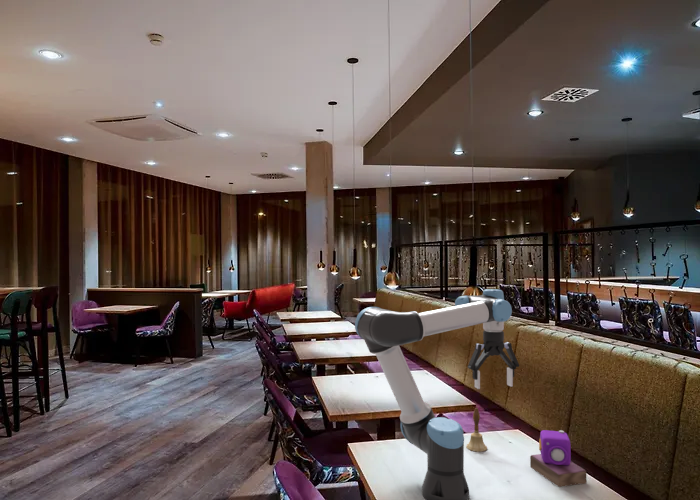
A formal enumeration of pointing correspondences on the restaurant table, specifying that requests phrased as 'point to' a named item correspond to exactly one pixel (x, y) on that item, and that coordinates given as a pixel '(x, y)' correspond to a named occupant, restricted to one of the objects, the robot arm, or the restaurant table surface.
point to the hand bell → (476, 436)
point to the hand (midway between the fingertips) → (493, 386)
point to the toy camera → (555, 447)
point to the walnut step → (558, 472)
